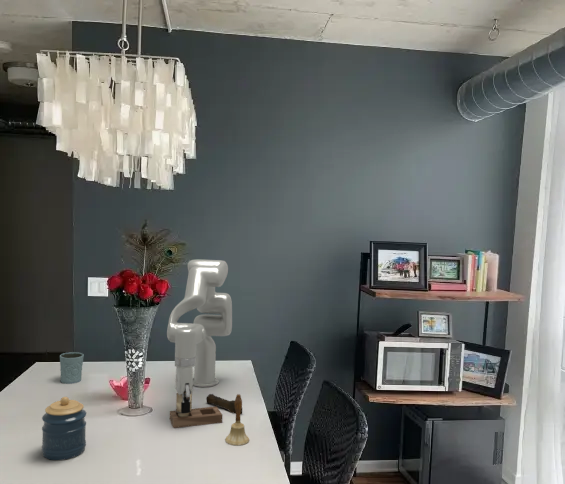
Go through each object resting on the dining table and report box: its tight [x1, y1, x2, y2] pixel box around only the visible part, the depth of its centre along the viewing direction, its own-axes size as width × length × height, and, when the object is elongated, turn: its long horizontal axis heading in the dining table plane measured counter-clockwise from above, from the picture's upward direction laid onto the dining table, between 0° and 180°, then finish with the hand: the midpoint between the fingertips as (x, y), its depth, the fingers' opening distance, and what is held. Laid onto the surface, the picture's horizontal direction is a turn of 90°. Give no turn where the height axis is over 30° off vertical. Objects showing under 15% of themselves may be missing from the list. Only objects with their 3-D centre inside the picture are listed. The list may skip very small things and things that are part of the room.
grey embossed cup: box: [59, 351, 84, 385], centre depth 235 cm, size 10×10×12 cm
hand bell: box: [224, 393, 250, 446], centre depth 177 cm, size 8×8×16 cm
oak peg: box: [175, 391, 193, 417], centre depth 191 cm, size 6×6×10 cm
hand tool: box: [205, 393, 243, 415], centre depth 206 cm, size 19×4×5 cm, turn 47°
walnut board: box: [168, 405, 223, 429], centre depth 193 cm, size 9×18×3 cm, turn 111°
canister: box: [41, 396, 87, 461], centre depth 165 cm, size 13×13×18 cm
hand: (183, 409), depth 191 cm, fingers closed on oak peg, 5 cm apart
